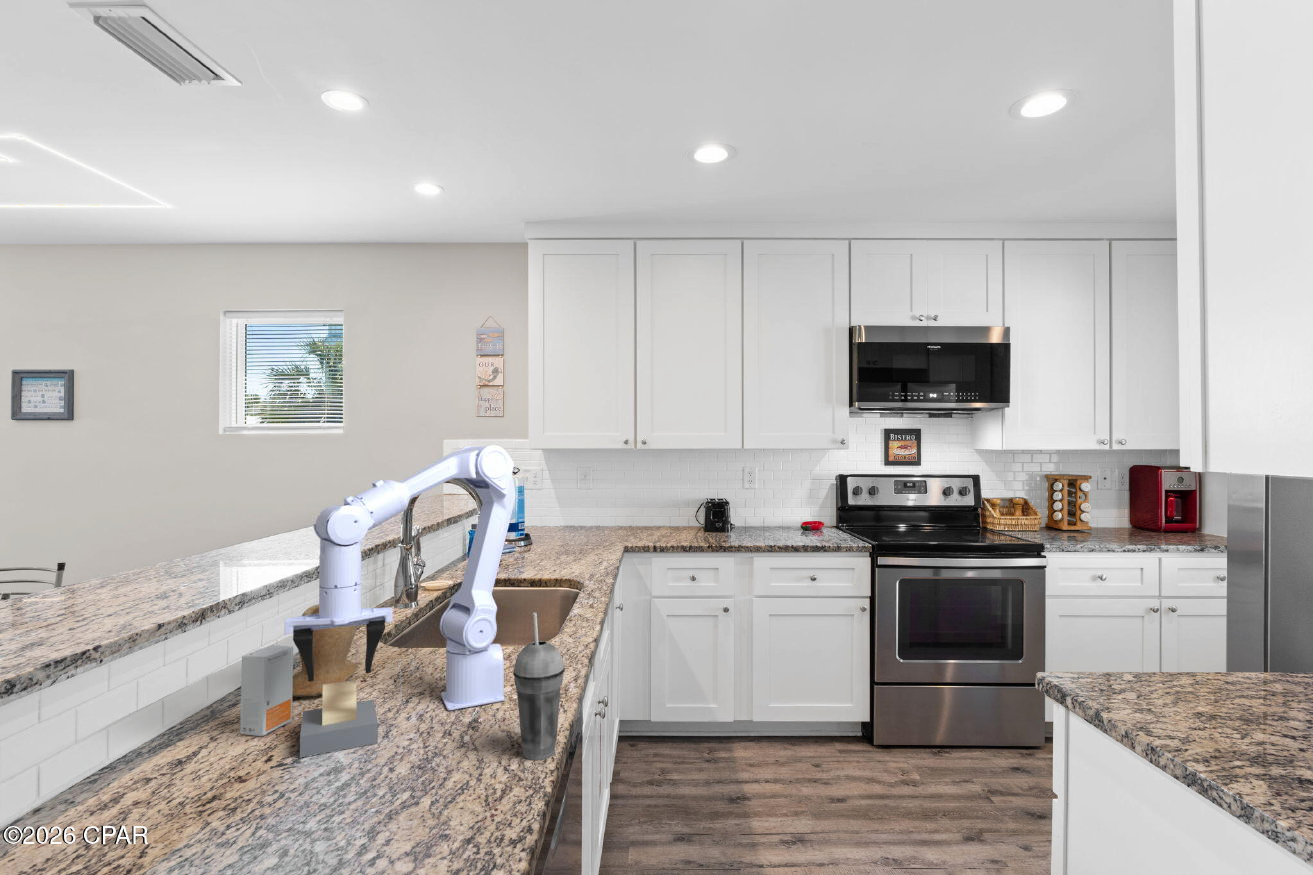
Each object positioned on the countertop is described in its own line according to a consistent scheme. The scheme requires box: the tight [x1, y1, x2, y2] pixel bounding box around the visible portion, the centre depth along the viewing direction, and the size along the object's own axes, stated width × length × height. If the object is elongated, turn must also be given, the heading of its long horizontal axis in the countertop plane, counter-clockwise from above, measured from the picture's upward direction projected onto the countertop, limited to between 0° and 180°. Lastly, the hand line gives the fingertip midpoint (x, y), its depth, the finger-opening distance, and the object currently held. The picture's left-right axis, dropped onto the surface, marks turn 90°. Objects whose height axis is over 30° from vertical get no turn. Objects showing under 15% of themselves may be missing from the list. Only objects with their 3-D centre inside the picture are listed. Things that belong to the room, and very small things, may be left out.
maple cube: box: [321, 679, 358, 726], centre depth 96 cm, size 4×4×4 cm
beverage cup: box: [512, 612, 565, 761], centre depth 90 cm, size 7×7×20 cm
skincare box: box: [239, 644, 294, 737], centre depth 99 cm, size 6×4×12 cm
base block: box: [299, 699, 379, 759], centre depth 96 cm, size 10×10×3 cm
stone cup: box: [292, 603, 360, 698], centre depth 117 cm, size 15×12×15 cm
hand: (340, 675), depth 96 cm, fingers open, 7 cm apart
